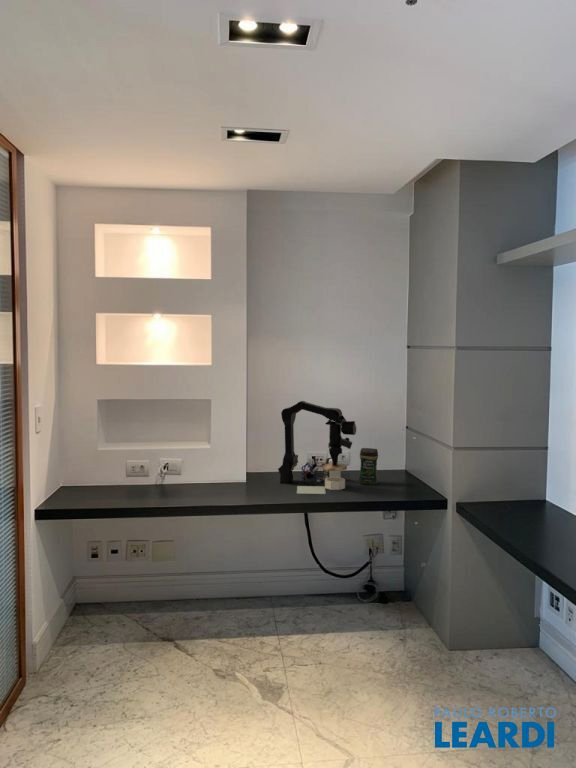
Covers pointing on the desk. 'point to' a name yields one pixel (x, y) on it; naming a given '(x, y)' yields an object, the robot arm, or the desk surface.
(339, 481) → the bowl
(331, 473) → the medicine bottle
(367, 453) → the coffee jar
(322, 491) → the mat
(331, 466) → the lid
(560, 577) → the desk surface
